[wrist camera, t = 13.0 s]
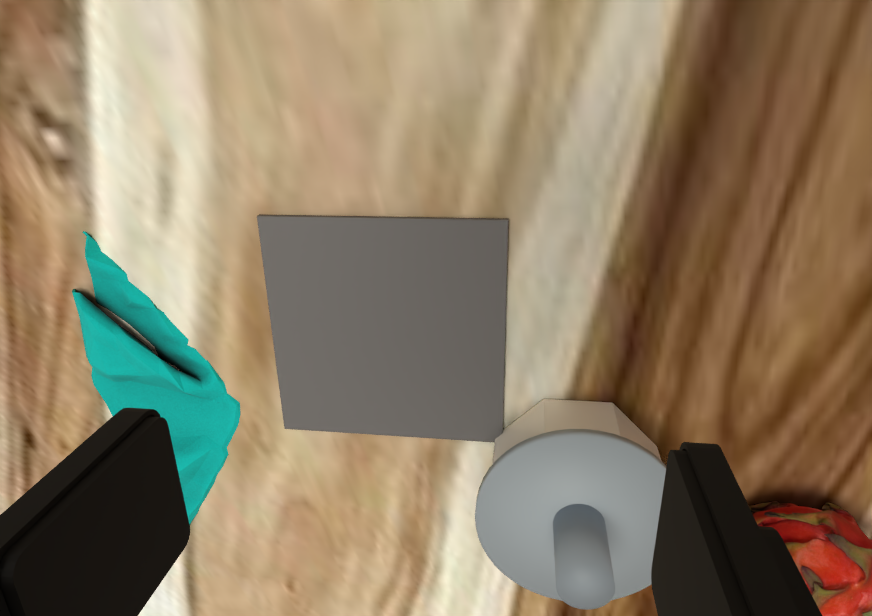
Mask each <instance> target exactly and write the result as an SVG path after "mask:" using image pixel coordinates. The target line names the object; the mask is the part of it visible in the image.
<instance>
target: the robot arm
mask: <svg viewBox="0 0 872 616" xmlns="http://www.w3.org/2000/svg"><path fill="white" fill-rule="evenodd" d="M189 535H190V525H189V520H188V515H187V511H186V506H185V501H184V497H183V492H182V487H181V483H180V478H179V473H178V469H177V464H176V459H175V454H174V450H173V445H172V440H171V436H170V431H169V426H168V423H167V421H166V419H165V418H163V417H161V416H160V414H159V413H158V411H156V410H154V409H143V408H123V409H122V410H120V411H119V412H118V413H116V414H115V415H114V416H113V417H112V418H111V419H110V420H108V421H107V422H106V423H105V424H104V425H103V426H102V427H100V428H99V429H98V430H97V431H96V432H95V433H94V434H92V435H91V436H90V437H89V438H88V439H87V440H86V441H84V442H83V443H82V444H81V445H80V446H79V447H78V448H76V449H75V450H74V451H73V452H72V453H71V454H70V455H68V456H67V457H66V458H65V459H64V460H63V461H62V462H60V463H59V464H58V465H57V466H56V467H55V468H54V469H52V470H51V471H50V472H49V473H48V474H47V475H46V476H44V477H43V478H42V479H41V480H40V481H39V482H38V483H36V484H35V485H34V486H33V487H32V488H31V489H30V490H28V491H27V492H26V493H25V494H24V495H23V496H22V497H20V498H19V499H18V500H17V501H16V502H15V503H14V504H12V505H11V506H10V507H9V508H8V509H7V510H6V511H4V512H3V513H2V514H1V515H0V616H138V614H139V613H140V611H141V610H142V609H143V607H144V606H145V604H146V603H147V601H148V600H149V599H150V597H151V596H152V594H153V593H154V591H155V590H156V588H157V587H158V586H159V584H160V583H161V581H162V580H163V578H164V577H165V576H166V574H167V573H168V571H169V570H170V568H171V567H172V565H173V564H174V563H175V561H176V560H177V558H178V557H179V555H180V554H181V552H182V551H183V550H184V548H185V546H186V545H187V542H188V540H189ZM651 582H652V590H653V595H654V599H655V604H656V608H657V612H658V616H822V614H821V612H820V610H819V608H818V606H817V604H816V602H815V600H814V599H813V597H812V595H811V593H810V591H809V589H808V587H807V585H806V583H805V581H804V579H803V577H802V575H801V573H800V572H799V570H798V568H797V566H796V564H795V562H794V560H793V558H792V556H791V554H790V552H789V550H788V548H787V546H786V545H785V543H784V541H783V539H782V537H781V536H780V534H779V533H778V531H777V530H776V529H774V528H773V527H764V526H758V525H757V523H756V521H755V518H754V516H753V514H752V512H751V510H750V508H749V506H748V504H747V502H746V500H745V498H744V496H743V494H742V491H741V489H740V487H739V485H738V483H737V481H736V479H735V477H734V475H733V473H732V471H731V469H730V466H729V464H728V462H727V460H726V458H725V456H724V454H723V452H722V450H721V448H720V447H719V445H717V444H705V443H689V442H683V443H682V444H681V447H680V450H670V452H669V455H668V460H667V467H666V474H665V481H664V487H663V494H662V501H661V507H660V514H659V521H658V528H657V534H656V541H655V548H654V555H653V561H652V569H651Z"/></svg>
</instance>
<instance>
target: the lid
mask: <svg viewBox="0 0 872 616" xmlns="http://www.w3.org/2000/svg"><path fill="white" fill-rule="evenodd" d="M666 467H667V466H666V465H665V464H664V463H663V462H662V461H661V460H660V459H659V458H658V457H657V456H656V455H654V454H653V453H652V452H651V451H649V450H648V449H646V448H644V447H643V446H641V445H640V444H638V443H636V442H634V441H632V440H629V439H627V438H625V437H622V436H619V435H616V434H613V433H608V432H604V431H599V430H591V429H564V430H555V431H551V432H547V433H542V434H539V435H536V436H534V437H531V438H528V439H526V440H524V441H522V442H520V443H518V444H516V445H515V446H513V447H512V448H510V449H509V450H507V451H506V452H505V453H504V454H503V455H501V456H500V457H499V458H498V459H497V460H496V461H495V462H494V464H493V465H492V466H491V467H490V468H489V470H488V471H487V473H486V475H485V476H484V478H483V480H482V483H481V485H480V487H479V491H478V495H477V501H476V511H475V522H476V529H477V533H478V537H479V540H480V542H481V545H482V547H483V549H484V551H485V552H486V554H487V556H488V557H489V558H490V560H491V561H492V562H493V563H494V565H495V566H496V567H497V568H498V569H499V570H500V571H501V572H502V573H503V574H504V575H506V576H507V577H508V578H510V579H511V580H512V581H514V582H515V583H517V584H519V585H520V586H522V587H524V588H526V589H528V590H530V591H532V592H534V593H537V594H540V595H543V596H546V597H549V598H553V599H557V600H562V601H564V602H565V603H567V604H568V605H570V606H572V607H575V608H579V609H596V608H599V607H602V606H604V605H606V604H607V603H608V602H609V601H610V600H614V599H618V598H621V597H625V596H628V595H630V594H633V593H636V592H638V591H640V590H642V589H644V588H646V587H648V586H649V585H651V584H652V582H651V569H652V561H653V555H654V548H655V541H656V534H657V528H658V521H659V514H660V507H661V501H662V494H663V487H664V481H665V474H666Z"/></svg>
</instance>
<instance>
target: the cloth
mask: <svg viewBox="0 0 872 616" xmlns="http://www.w3.org/2000/svg"><path fill="white" fill-rule="evenodd" d="M83 233H84V234H85V235H86V236H87V239H86V247H85V257H86V260H87V263H88V267H89V270H90V273H91V277H92V282H93V287H94V292H95V297H96V302H97V303H98V304H100V305H101V306H103V307H105V308H107V309H108V310H110V311H111V312H113V313H114V314H116V315H117V316H118V317H120V318H121V319H123V320H124V321H126V322H127V323H128V324H130V325H131V326H132V327H133V328H134V329H135V330H137V331H138V332H139V333H140V334H141V335H142V336H143V337H144V338H146V339H147V340H148V341H149V342H150V343H151V344H152V345H153V346H155V348H156V351H157V353H158V356H159V357H157V356H156V355H155V354H154V353H153V352H152V351H151V350H150V349H149V348H148V347H147V346H146V345H145V344H143V343H142V342H141V341H139V340H138V339H137V338H135V337H134V336H133V335H131V334H130V333H129V332H127V331H126V330H125V329H123V328H122V327H121V326H119V325H118V324H117V323H115V322H114V321H113V320H112V319H111V318H109V317H108V316H107V315H106V314H105V313H104V312H102V311H101V310H100V309H99V308H98V307H96V306H95V305H94V304H93V303H92V302H90V301H89V300H88V299H87V298H86V297H85V296H83V295H82V294H81V293H77V292H76V291H75V289H73V291H72V293H73V296H74V300H75V303H76V307H77V310H78V313H79V317H80V322H81V328H82V333H83V339H84V345H85V351H86V356H87V358H88V361H89V363H90V364H91V366H92V379H93V383H94V386H95V387H96V389H97V390H98V392H99V393H100V395H101V396H102V398H103V399H104V401H105V403H106V404H107V406H108V408H109V410H110V412H111V414H112V416H114V415H115V414H116V413H118V412H119V411H120V410H122V409H123V408H143V409H154V410H156V411H158V413H159V414H160V416H161V417H163V418H165V419H166V421H167V423H168V426H169V431H170V436H171V440H172V445H173V450H174V454H175V459H176V464H177V469H178V473H179V478H180V483H181V487H182V492H183V497H184V501H185V506H186V511H187V515H188V520H189V525H190V523H191V521H192V520H193V518H194V517H195V516H196V514H197V513H198V511H199V508H200V506H201V504H202V503H203V501H204V500H205V498H206V496H207V494H208V493H209V491H210V489H211V488H212V486H213V484H214V482H215V479H216V476H217V474H218V473H219V471H220V470H221V468H222V467H223V465H224V462H225V460H226V458H227V456H228V451H227V446H228V444H229V442H230V440H231V439H232V436H233V434H234V432H235V430H236V428H237V426H238V423H239V418H240V403H239V402H238V401H237V400H235V399H234V398H233V397H231V396H230V395H229V394H227V391H226V388H225V384H224V382H223V381H222V379H221V378H220V377H219V375H218V374H217V373H216V371H215V370H214V369H213V367H212V366H211V365H210V363H209V362H208V361H206V360H205V359H204V358H203V357H202V356H201V355H200V354H199V353H198V352H197V351H196V349H194V348H192V347H190V346H188V345H187V344H188V339H187V338H186V337H185V336H184V335H183V334H182V333H181V332H180V331H179V330H178V329H177V327H176V326H175V325H174V324H173V323H172V322H171V321H170V320H169V319H168V318H167V316H166V315H165V314H164V312H162V311H160V310H159V309H157V308H156V307H155V305H154V304H153V303H152V301H151V300H150V299H149V297H148V296H146V295H145V294H144V293H143V292H141V291H140V290H139V289H138V288H137V287H135V286H134V285H133V284H132V283H130V282H129V281H128V278H127V274H126V273H125V272H124V271H123V270H122V269H121V268H120V267H119V266H118V265H117V264H116V263H115V262H114V261H113V260H112V259H110V258H109V257H108V256H106V255H105V254H104V253H102V252H101V250H100V248H99V246H98V244H97V242H96V241H95V240H94V239H93V238H92V237H90V236H89V235H88V234H87V233H86V232H84V231H83ZM164 361H166V362H168V363H170V364H172V365H174V366H176V367H177V368H178V369H179V370H181V371H182V372H180V371H178V370H176V369H175V368H173V367H172V366H170V365H169V364H167V363H166V362H164Z"/></svg>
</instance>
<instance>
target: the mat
mask: <svg viewBox="0 0 872 616" xmlns="http://www.w3.org/2000/svg"><path fill="white" fill-rule="evenodd" d="M257 220H258V228H259V236H260V243H261V251H262V259H263V266H264V274H265V282H266V289H267V297H268V305H269V312H270V320H271V328H272V335H273V343H274V351H275V358H276V366H277V374H278V381H279V389H280V397H281V404H282V412H283V420H284V427H285V429H297V430H312V431H328V432H343V433H359V434H374V435H389V436H405V437H420V438H436V439H451V440H467V441H482V442H495V439H496V438H497V437H499V436H500V435H501V434H502V433H503V403H504V365H505V327H506V289H507V251H508V219H494V218H432V217H371V216H309V215H258V216H257Z"/></svg>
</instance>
